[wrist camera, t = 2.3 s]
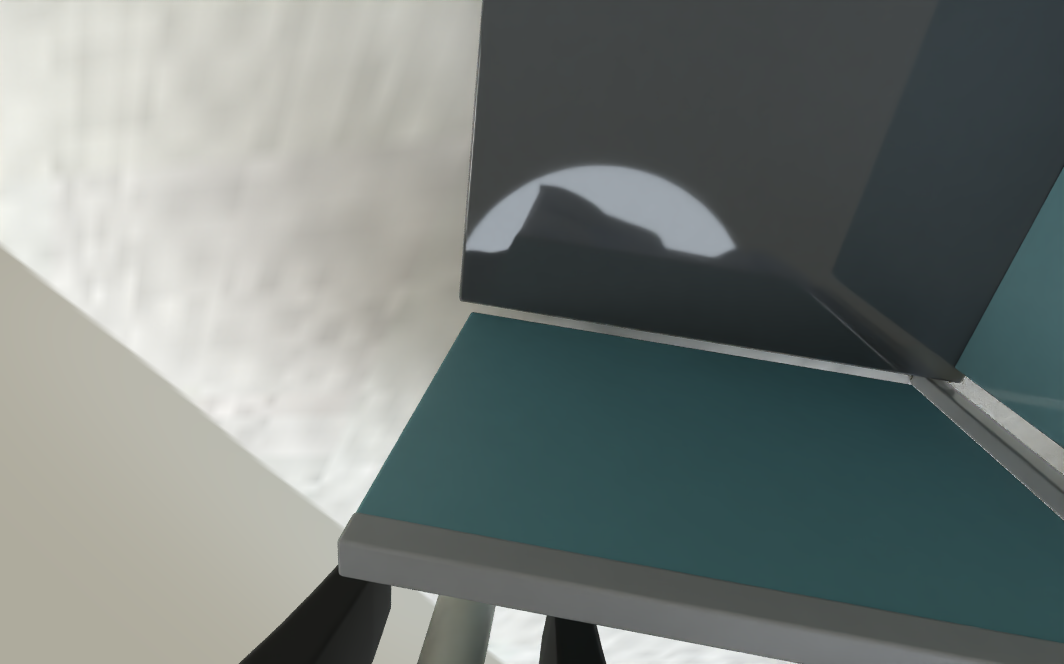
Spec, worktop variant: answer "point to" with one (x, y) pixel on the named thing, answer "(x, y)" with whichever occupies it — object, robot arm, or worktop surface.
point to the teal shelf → (705, 507)
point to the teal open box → (788, 186)
